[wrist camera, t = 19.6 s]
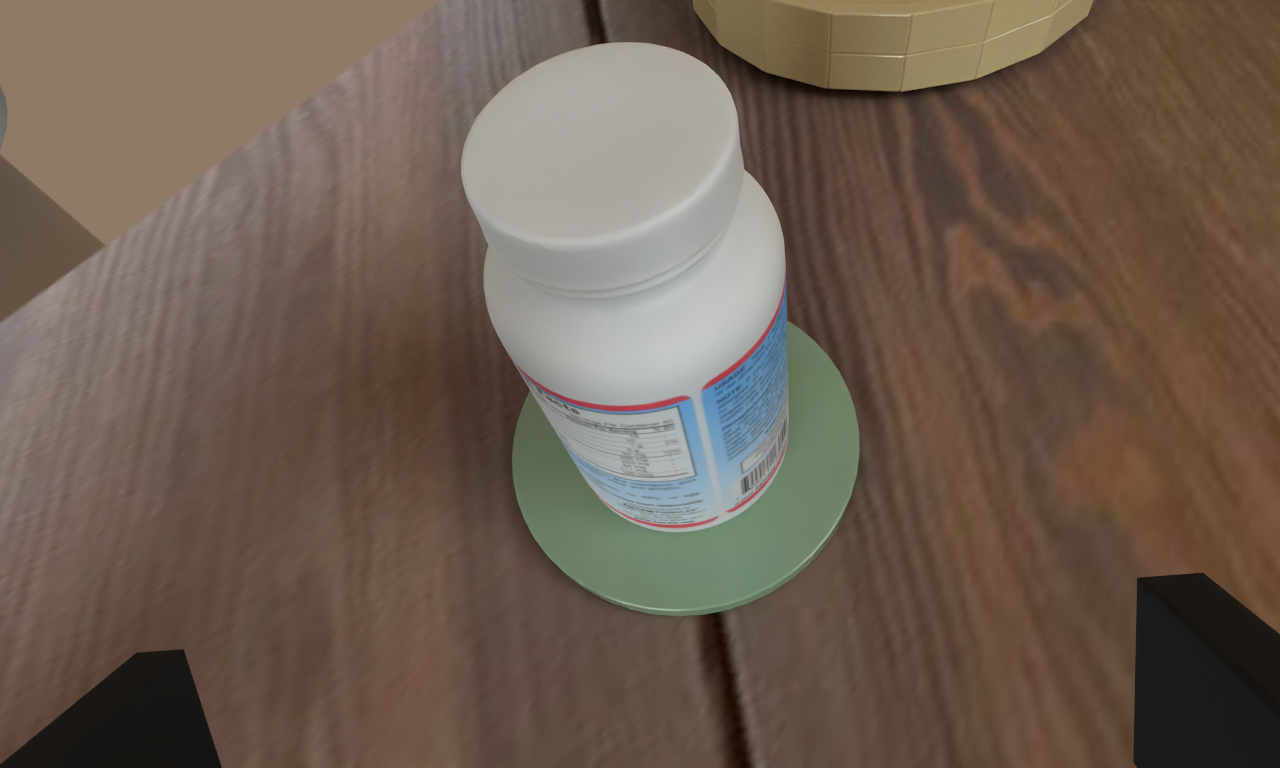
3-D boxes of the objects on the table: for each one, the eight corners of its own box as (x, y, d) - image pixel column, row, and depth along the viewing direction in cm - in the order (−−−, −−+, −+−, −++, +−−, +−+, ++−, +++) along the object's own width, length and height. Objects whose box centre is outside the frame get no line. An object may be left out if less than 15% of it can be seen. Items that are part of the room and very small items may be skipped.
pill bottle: (721, 316, 24) (676, -33, 14) (831, 473, 21) (868, 161, 11) (545, 405, 23) (376, 104, 14) (631, 580, 20) (488, 349, 11)
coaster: (451, 504, 23) (443, 497, 22) (634, 264, 26) (631, 253, 26) (748, 694, 19) (747, 690, 18) (917, 381, 22) (920, 370, 22)
